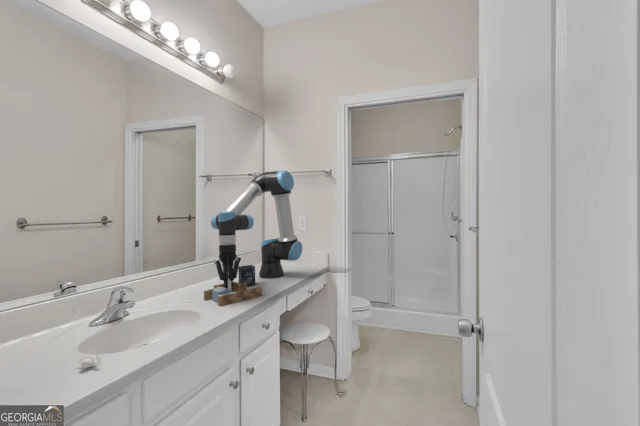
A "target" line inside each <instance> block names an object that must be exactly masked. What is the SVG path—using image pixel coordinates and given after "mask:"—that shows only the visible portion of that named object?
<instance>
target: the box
mask: <svg viewBox="0 0 640 426" xmlns="http://www.w3.org/2000/svg"><path fill="white" fill-rule="evenodd" d="M237 277H238V283H247V287H249V286H255V285H256V266H255V265H253V264H249V265H247V264H246V265H241V266H240V265H239V267H238V272H237Z"/></svg>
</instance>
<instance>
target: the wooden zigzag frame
mask: <svg viewBox="0 0 640 426" xmlns="http://www.w3.org/2000/svg"><path fill="white" fill-rule="evenodd" d="M220 288H224V283H220V284H215V285H213V288H208V289H204V290H203V300H204V301H208V300H212V290H215V289H220ZM262 296H263V287H262V286H258V287H253V288H249V289H248V286H247V283H239V282H237V281H233V287H231V293H227V294H222V295H218V303H217V305H218V306H219V307H221V306H227V305H229V304H233V303H238V302H242V301H246V300H249V299H254V298H258V297H262Z"/></svg>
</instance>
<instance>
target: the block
mask: <svg viewBox="0 0 640 426" xmlns="http://www.w3.org/2000/svg"><path fill="white" fill-rule="evenodd" d="M227 293H231V290H230V289H227V288H220V289H215V290H212V299H211V301H212V302H214V303H217V304H218V295H222V294H227Z"/></svg>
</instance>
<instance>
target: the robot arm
mask: <svg viewBox="0 0 640 426" xmlns="http://www.w3.org/2000/svg"><path fill="white" fill-rule="evenodd" d="M294 186H295V180H294V178H293V175H292V173H290V172H289V171H288V170H275V171H264V172H262V173H261V174H259V175H257V176H256V177H254V178H253V179H252V180H250V182H249V183H248V184H247V187H246V188H245V189H244V190H242V192H241V193H240V194H239V195H238V196H237V197H236V198H235V199H234V200H233V201H232V202H231V203H230V204H229V205H228V206H227V207H226V208H225V209H224V210H222V211H219V212H218V214H216V215H213V216H212V217H211V221H210V225H211V228H213V229H214V230H218V244H219V246H218V250H219V251H218V258H217V259H214V261H213V264H214V265H215V266H216V270H217V274H218V278H219V280H220V281H223V284H224V288H227V289H230V290H231V287H233V282H234V280H235V279H237V277H238V267H239V266H240V262H241V260H242V257H239V256H237V253H236V251H237V244H236V242H237V241H236V231H247V230H250V229H252V228H253V226H254V223H255V222H254V218H253V217H252V216H251V214H242V213H244V211H245V210H246V209H247V208H248V207H249V206H250V205H251V204H252V203H253V202H254V201H255V199H257V198H258V197H260V196H262V195H263V194H264V193H267V192H270V194H271V197H273V198H274V204H275V211H276V217H277V218H276V219H277V224H278V232H279V237H278V238H272V239H271V238H270V239H263V240H262V241H261V245H260V246H261V247H260V249H261V253H260V254H261V265H260V269H259V272H258V275H259V276H258V277H260V278H263V279H274V278H281V277H284V270H283V267H282V263H281V261H290V262H291V261H297V260H299V259H300V257H301V256H302V253H303V244H302V242H301V241H299V240H298V237H297V235H296V234H295V230H294V223H293V215H292V209H291V202H290V200H291V199H290V195H291V194H292V190H293V189H294ZM221 263H222V264H221Z"/></svg>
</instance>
